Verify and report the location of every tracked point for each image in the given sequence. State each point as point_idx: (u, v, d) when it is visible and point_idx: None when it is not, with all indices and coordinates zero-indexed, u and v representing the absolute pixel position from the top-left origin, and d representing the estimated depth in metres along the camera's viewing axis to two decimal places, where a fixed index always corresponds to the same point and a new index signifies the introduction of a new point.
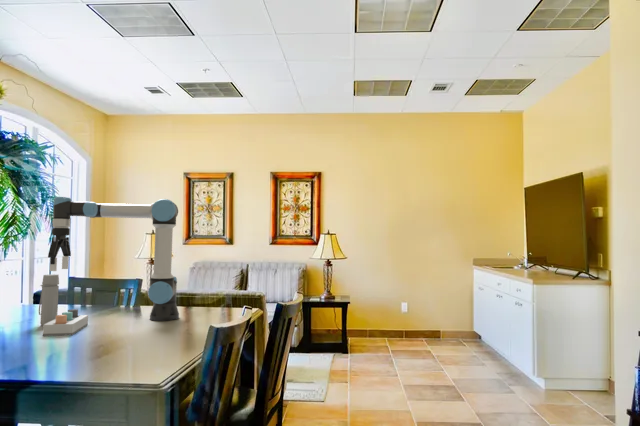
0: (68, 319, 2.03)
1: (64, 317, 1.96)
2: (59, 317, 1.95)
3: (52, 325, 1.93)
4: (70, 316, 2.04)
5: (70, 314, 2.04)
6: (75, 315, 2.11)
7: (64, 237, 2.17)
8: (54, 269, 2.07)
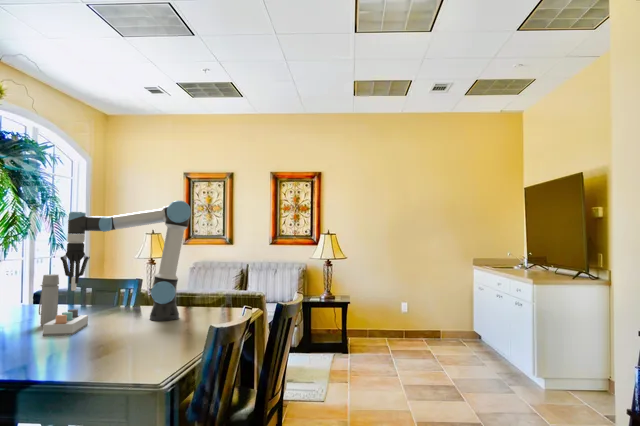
0: (68, 319, 2.03)
1: (64, 317, 1.96)
2: (59, 317, 1.95)
3: (52, 325, 1.93)
4: (70, 316, 2.04)
5: (70, 314, 2.04)
6: (75, 315, 2.11)
7: (80, 251, 2.13)
8: None
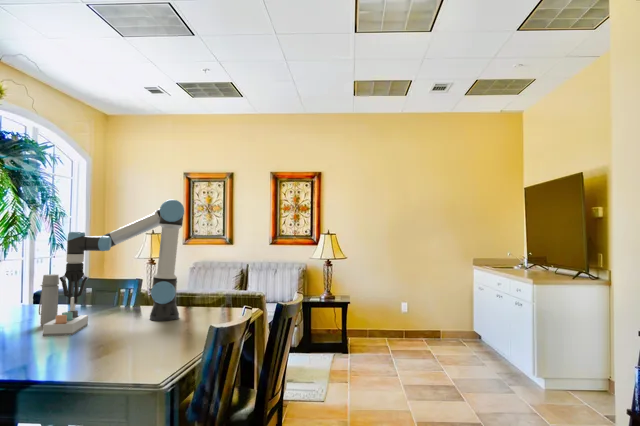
0: (68, 319, 2.03)
1: (64, 317, 1.96)
2: (59, 317, 1.95)
3: (52, 325, 1.93)
4: (70, 316, 2.04)
5: (70, 314, 2.04)
6: (75, 316, 2.11)
7: (79, 271, 2.12)
8: None
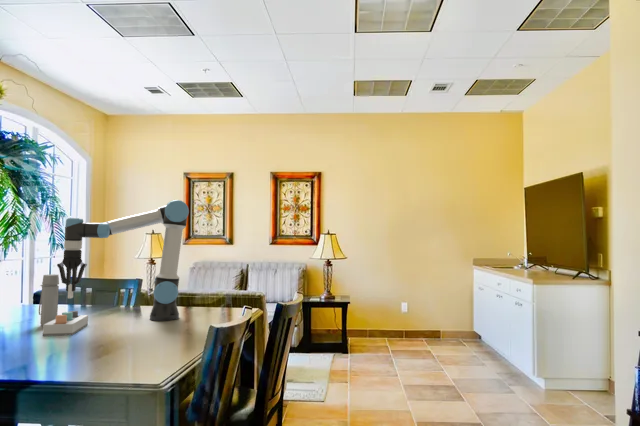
0: (68, 319, 2.03)
1: (64, 317, 1.96)
2: (59, 317, 1.95)
3: (52, 325, 1.93)
4: (70, 316, 2.04)
5: (70, 314, 2.04)
6: (75, 317, 2.11)
7: (77, 258, 2.09)
8: None
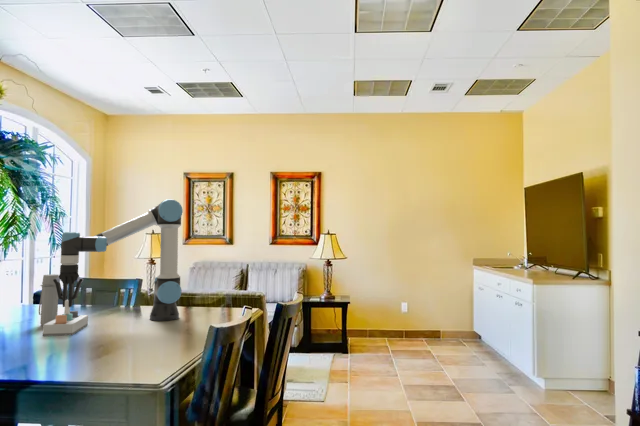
0: None
1: (64, 317, 1.96)
2: (59, 317, 1.95)
3: (52, 325, 1.93)
4: (70, 318, 2.04)
5: (70, 316, 2.04)
6: (75, 317, 2.11)
7: (73, 273, 2.05)
8: None
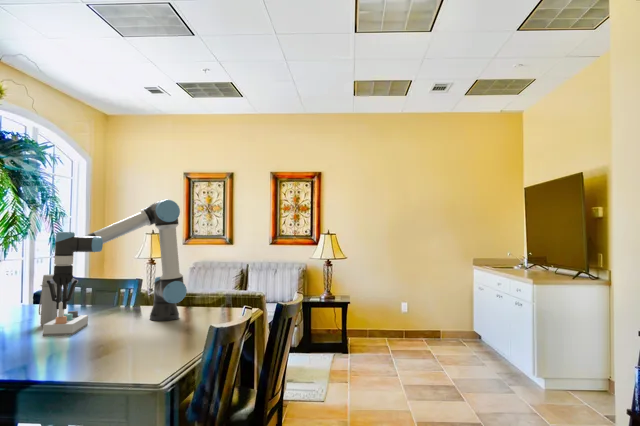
0: None
1: (64, 318, 1.96)
2: (59, 318, 1.95)
3: (52, 325, 1.93)
4: (70, 318, 2.04)
5: (70, 316, 2.04)
6: (75, 317, 2.11)
7: (68, 274, 1.98)
8: None
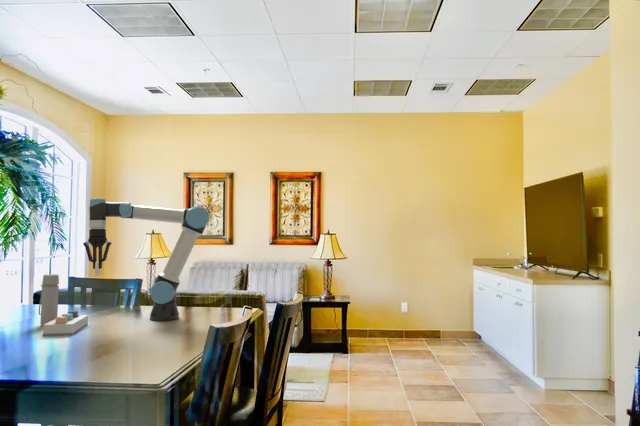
0: None
1: (64, 319, 1.96)
2: (59, 319, 1.95)
3: (52, 325, 1.93)
4: (70, 318, 2.04)
5: (70, 316, 2.04)
6: (75, 317, 2.11)
7: (102, 236, 2.17)
8: None
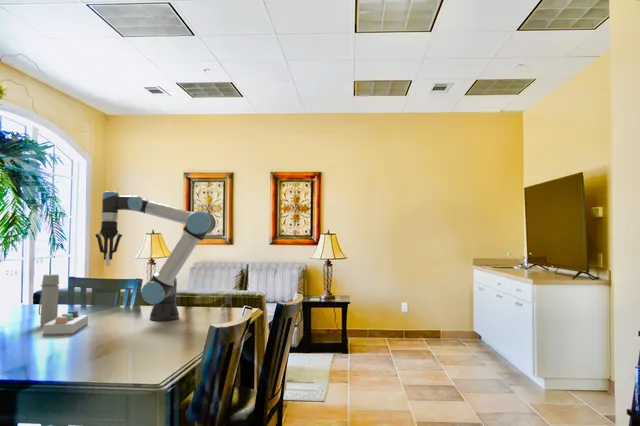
0: None
1: (64, 319, 1.96)
2: (59, 319, 1.95)
3: (52, 325, 1.93)
4: (70, 318, 2.04)
5: (70, 316, 2.04)
6: (75, 317, 2.11)
7: (113, 229, 2.24)
8: None
